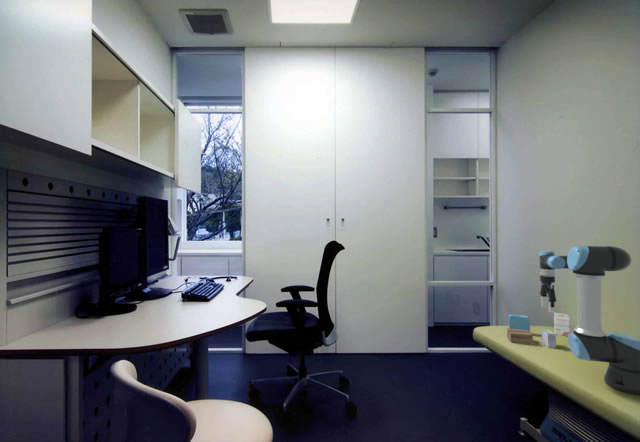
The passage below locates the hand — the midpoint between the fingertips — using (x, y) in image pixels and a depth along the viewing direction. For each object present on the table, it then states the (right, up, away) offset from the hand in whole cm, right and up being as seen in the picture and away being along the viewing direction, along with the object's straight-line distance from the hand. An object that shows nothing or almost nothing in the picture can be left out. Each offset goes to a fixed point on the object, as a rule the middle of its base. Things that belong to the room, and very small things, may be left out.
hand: (548, 309), depth 192 cm
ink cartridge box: (+24, -23, +19) cm, 39 cm away
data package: (-3, -23, +23) cm, 33 cm away
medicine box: (0, -23, -1) cm, 23 cm away
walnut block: (-13, -23, +7) cm, 27 cm away
